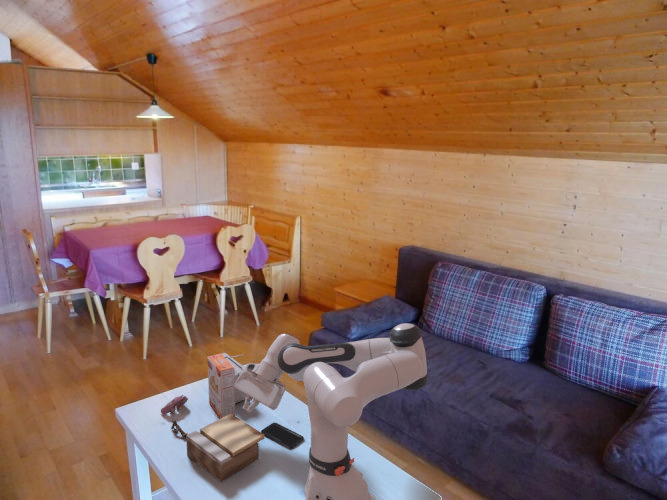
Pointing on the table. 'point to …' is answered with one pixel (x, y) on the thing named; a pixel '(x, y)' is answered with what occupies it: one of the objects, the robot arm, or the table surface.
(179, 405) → the video game controller
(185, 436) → the wooden post with brackets
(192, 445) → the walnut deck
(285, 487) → the table surface
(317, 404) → the robot arm
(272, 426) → the phone
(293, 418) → the table surface
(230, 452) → the oak plank
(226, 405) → the cracker box
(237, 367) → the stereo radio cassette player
